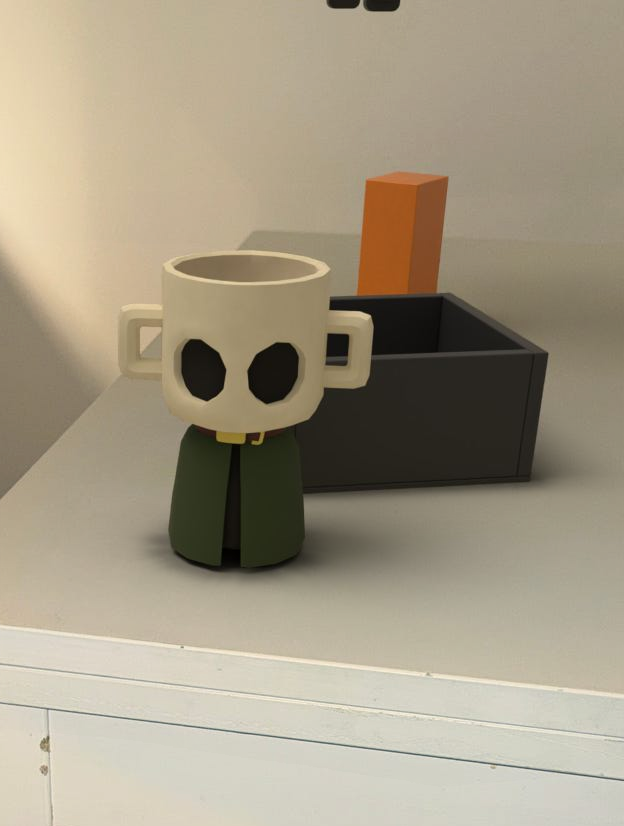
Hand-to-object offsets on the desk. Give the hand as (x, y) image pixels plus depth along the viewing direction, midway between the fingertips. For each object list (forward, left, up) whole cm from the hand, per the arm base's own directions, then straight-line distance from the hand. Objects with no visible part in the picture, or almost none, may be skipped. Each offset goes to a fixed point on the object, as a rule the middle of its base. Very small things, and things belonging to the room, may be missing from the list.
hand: (360, 10), depth 86 cm
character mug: (+16, +38, -22) cm, 47 cm away
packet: (-4, 0, -22) cm, 22 cm away
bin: (+6, +25, -22) cm, 34 cm away
